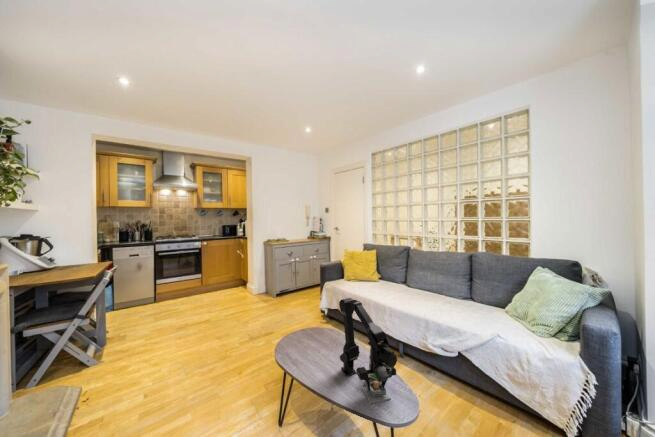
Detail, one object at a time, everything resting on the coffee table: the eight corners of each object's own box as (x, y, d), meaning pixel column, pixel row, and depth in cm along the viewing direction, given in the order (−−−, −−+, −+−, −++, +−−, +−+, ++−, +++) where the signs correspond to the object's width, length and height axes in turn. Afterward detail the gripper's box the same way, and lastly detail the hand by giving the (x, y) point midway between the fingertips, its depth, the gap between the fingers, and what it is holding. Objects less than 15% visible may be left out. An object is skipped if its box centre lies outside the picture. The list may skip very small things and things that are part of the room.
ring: (366, 387, 122) (366, 382, 122) (379, 385, 124) (379, 380, 124) (372, 397, 115) (372, 392, 115) (385, 394, 117) (386, 389, 117)
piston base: (362, 388, 123) (362, 377, 123) (380, 385, 126) (380, 374, 126) (370, 403, 114) (370, 391, 114) (390, 399, 116) (390, 387, 116)
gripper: (365, 369, 110) (364, 404, 110) (402, 363, 114) (402, 397, 114) (356, 355, 120) (355, 387, 120) (390, 351, 125) (390, 381, 125)
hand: (375, 388), depth 120 cm, fingers closed on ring, 7 cm apart
